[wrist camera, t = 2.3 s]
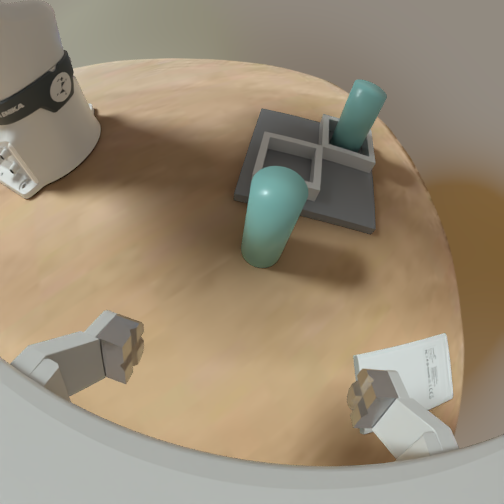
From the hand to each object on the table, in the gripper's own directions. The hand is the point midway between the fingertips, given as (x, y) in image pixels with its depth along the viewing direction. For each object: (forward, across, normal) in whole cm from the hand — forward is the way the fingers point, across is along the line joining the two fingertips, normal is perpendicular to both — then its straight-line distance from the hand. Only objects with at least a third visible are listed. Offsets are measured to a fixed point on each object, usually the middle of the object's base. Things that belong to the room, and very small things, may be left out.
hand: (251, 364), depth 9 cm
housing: (+28, -4, -7) cm, 29 cm away
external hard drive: (+12, -18, +10) cm, 24 cm away
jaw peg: (+19, 0, +2) cm, 19 cm away
